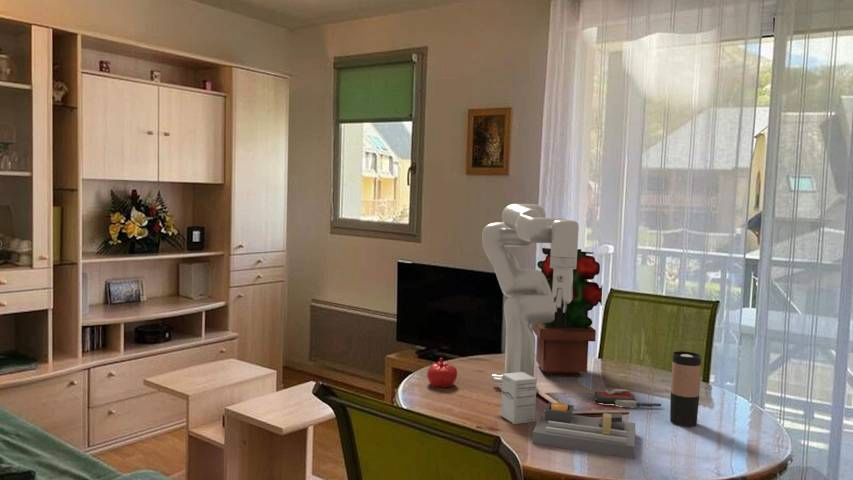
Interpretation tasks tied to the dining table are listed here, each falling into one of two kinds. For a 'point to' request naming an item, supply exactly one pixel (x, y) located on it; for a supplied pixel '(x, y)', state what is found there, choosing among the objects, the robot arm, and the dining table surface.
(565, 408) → the orange button
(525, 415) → the supplement box
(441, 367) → the pomegranate
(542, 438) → the panel
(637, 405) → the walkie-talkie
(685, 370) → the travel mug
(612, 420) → the black rocker
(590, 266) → the potted plant
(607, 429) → the golden rectangular block
